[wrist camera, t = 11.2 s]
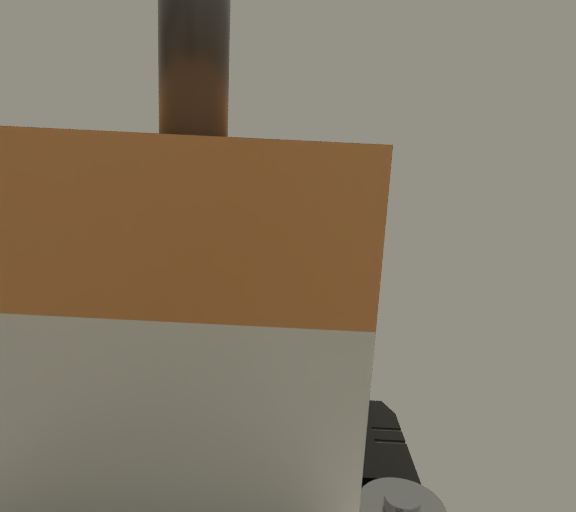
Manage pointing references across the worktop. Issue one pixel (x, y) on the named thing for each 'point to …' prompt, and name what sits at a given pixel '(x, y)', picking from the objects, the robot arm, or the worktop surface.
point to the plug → (187, 304)
